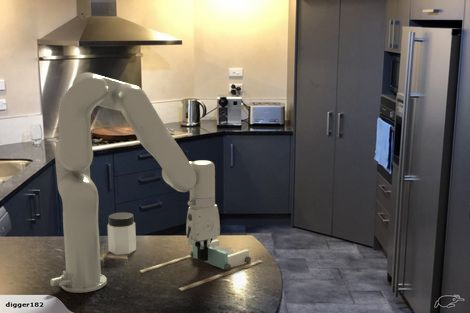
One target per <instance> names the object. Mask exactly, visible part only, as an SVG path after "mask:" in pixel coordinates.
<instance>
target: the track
mask: <svg viewBox="0 0 470 313" xmlns="http://www.w3.org/2000/svg"><path fill="white" fill-rule="evenodd" d="M219 247H221V246H220V245H219ZM188 259H192V257H191V256H190V255H189V254H188V255H186V256H185V255H184V256H182V257H179V258H176V259H172V260H169V261H167V262H163V263H160V264H157V265H153V266H150V267H146V268H144V269H140V270H139V272H140V273H141V274H143V273H147V272H149V271H152V270H155V269H159V268H163V267H166V266H168V265H172V264H174V263H175V264H176V263H178V262H181V261H185V260H188ZM260 263H263V260H260V259H259V260H256V261H253V262H250V263H246V264H245V265H242V266H239V267H236V268H234V269H230V270H228V271H227V270H226V271H224V272H222V273H221V272H220V273H218V274H216V275H213V276H210V277H208V278H205V279H202V280H199V281H196V282H193V283H191V284H187V285H184V286H182V287H180V288H178V290H179V291H180V292H182V291H186V290H189V289H191V288H194V287H197V286H200V285H202V284H205V283H209V282H211V281H214V280H217V279H219V278H222V277H225V276H228V275H230V274H233V273H236V272H238V271H243V270H245V269H247V268H250V267H253V266H255V265H258V264H260Z"/></svg>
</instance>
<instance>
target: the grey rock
mask: <svg viewBox="0 0 470 313" xmlns="http://www.w3.org/2000/svg"><path fill="white" fill-rule="evenodd" d="M219 246H220V245H219ZM219 246H214V248H216V249H218V250H221V251H224V252H227V253H228V255H230V254H233V253H234V252H233V250H232V248H231V247H226V246H225V247H223V246H220V247H219Z"/></svg>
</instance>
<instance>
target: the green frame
mask: <svg viewBox="0 0 470 313" xmlns="http://www.w3.org/2000/svg"><path fill="white" fill-rule="evenodd" d="M214 246H220V239H217V238H216V239H214V240H212V242H211V243H210V247H209V248H208V260H207V261H204V263H207V264H209V265H212V266H215V267H217V268H220V269H222V270H225V271H226V272H227V271H230V270H231V268H234V267H236V266H240V265H242V264H250V263H252V262H251V261H252V258H251V257H250V250H249V249H247V248H246V249H243V250H240V251H237V252H233V254H230V255H228V253H227V252H224V251H221V250H218V249H216V248H214ZM189 254H190V256H191V258H193V259H197V260H198V257H197V247H196V246H195V245H192V251H191V252H190V253H189Z"/></svg>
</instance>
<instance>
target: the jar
mask: <svg viewBox="0 0 470 313" xmlns="http://www.w3.org/2000/svg"><path fill="white" fill-rule="evenodd" d="M107 244H108V245H107V246H108V252H110V253H111V254H113V255H115V256H117V255H119V256H120V255H130V254H132V253H133V252H135V251H136V250H137V237H136V222H135V216H134V214H133V213H131V212H115V213H112V214H109V215H108V224H107Z"/></svg>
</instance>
